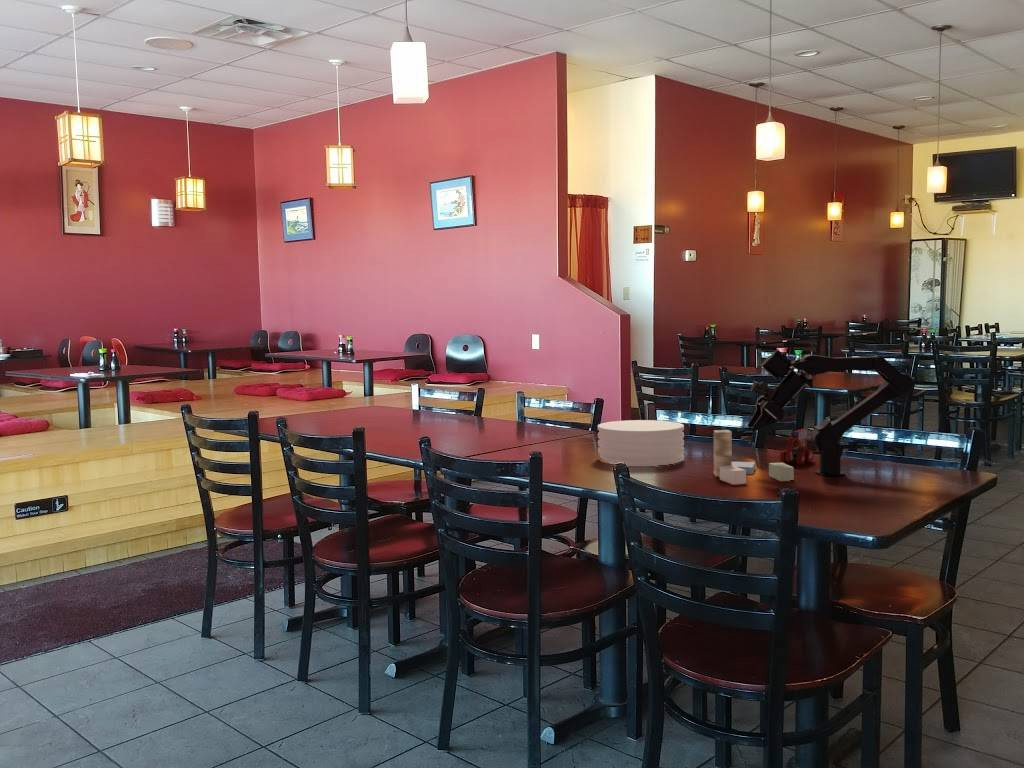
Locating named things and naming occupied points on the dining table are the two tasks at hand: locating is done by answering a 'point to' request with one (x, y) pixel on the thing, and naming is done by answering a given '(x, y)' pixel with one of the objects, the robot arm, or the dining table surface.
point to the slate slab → (745, 466)
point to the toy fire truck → (797, 448)
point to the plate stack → (641, 442)
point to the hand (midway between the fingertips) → (750, 428)
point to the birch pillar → (722, 450)
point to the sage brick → (781, 471)
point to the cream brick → (732, 475)
